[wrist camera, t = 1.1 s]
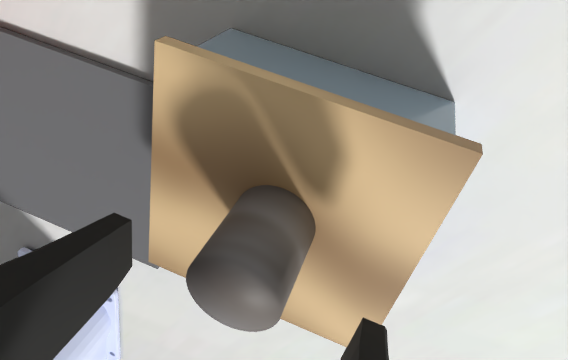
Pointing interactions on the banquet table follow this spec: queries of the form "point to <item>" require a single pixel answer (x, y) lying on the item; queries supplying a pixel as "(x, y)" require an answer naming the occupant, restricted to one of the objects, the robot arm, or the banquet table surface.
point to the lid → (290, 194)
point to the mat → (74, 138)
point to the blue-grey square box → (335, 78)
